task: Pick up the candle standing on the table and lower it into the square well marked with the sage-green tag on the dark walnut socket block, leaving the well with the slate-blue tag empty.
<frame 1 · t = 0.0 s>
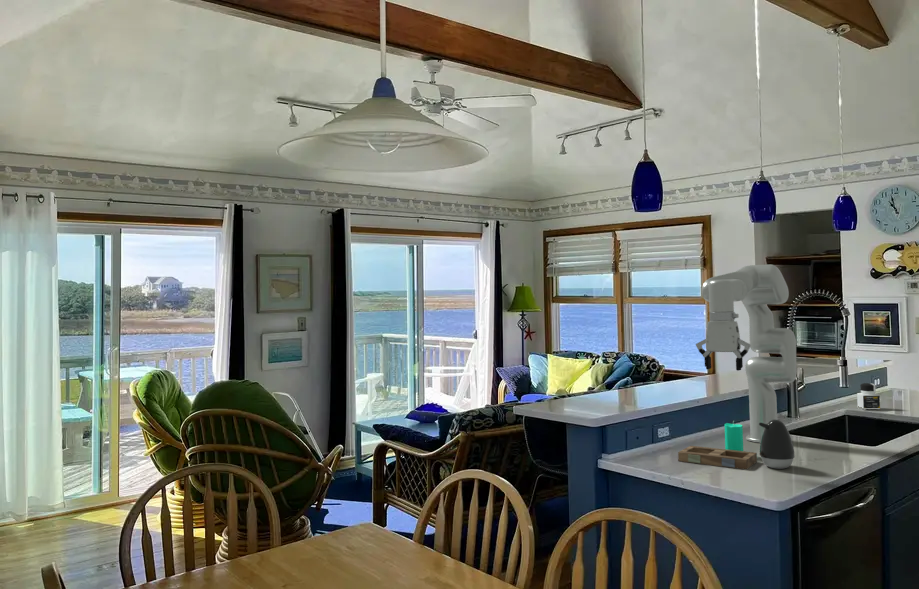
hand: (723, 369, 224), 31 cm above the countertop, tool pointing down, fingers open, 9 cm apart
socket block: (717, 461, 229), on the countertop
pump dispenser: (777, 467, 219), on the countertop
medicine bottle: (868, 409, 319), on the countertop
candle: (734, 455, 237), on the countertop
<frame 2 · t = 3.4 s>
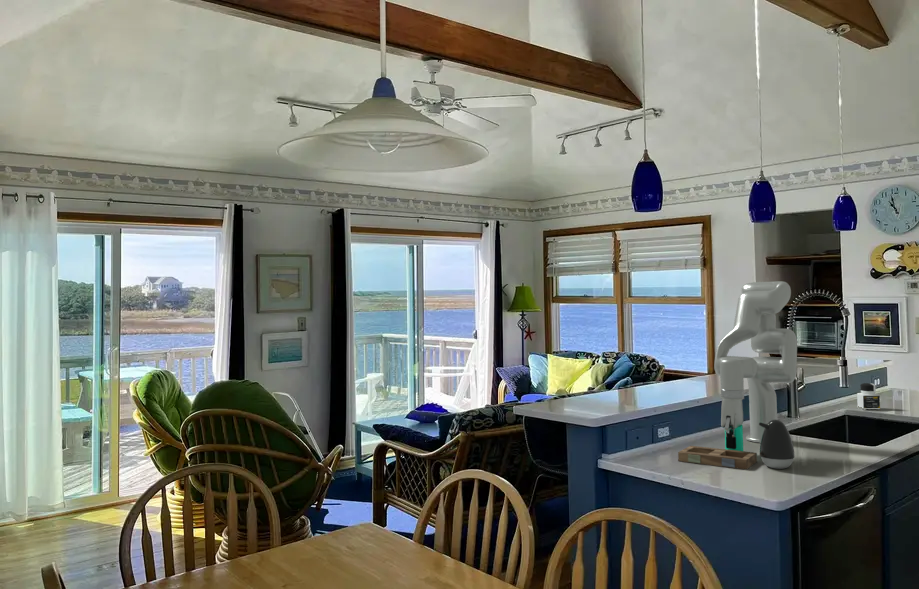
hand: (733, 446, 237), 3 cm above the countertop, tool pointing down, fingers closed on candle, 5 cm apart
candle: (734, 455, 237), on the countertop, touching gripper
everything else where it was.
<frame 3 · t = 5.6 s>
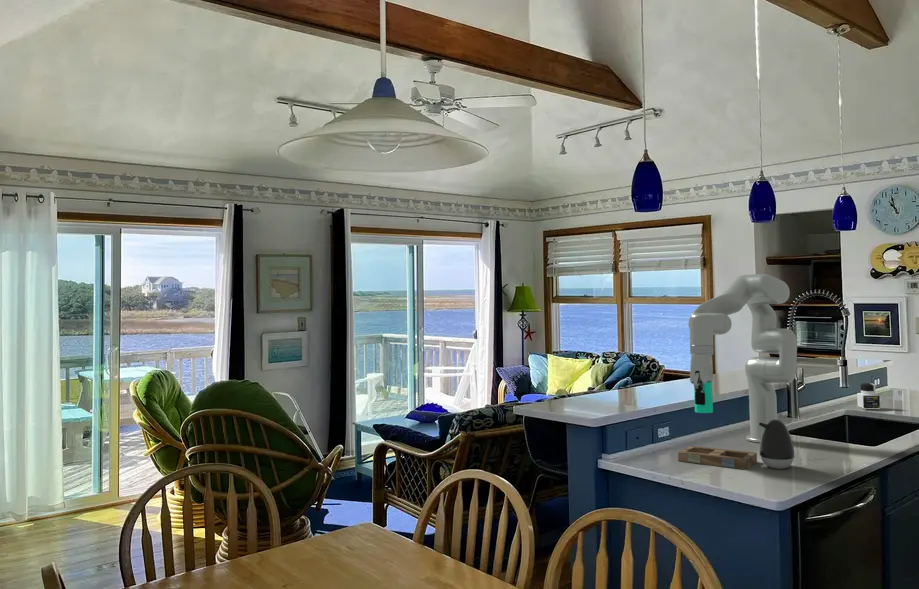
hand: (703, 402, 233), 19 cm above the countertop, tool pointing down, fingers closed on candle, 5 cm apart
candle: (703, 412, 233), point 16 cm above the countertop, touching gripper
everything else where it was.
when the fingers open (4 cm above the countertop, at t = 8.0 s): candle drops 1 cm, resting in socket block.
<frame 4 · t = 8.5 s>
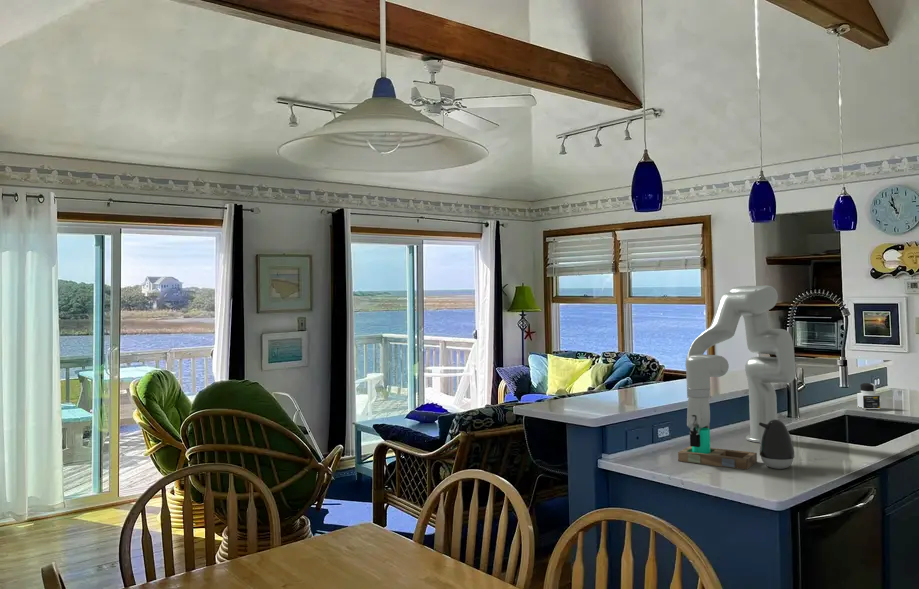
hand: (700, 443, 232), 5 cm above the countertop, tool pointing down, fingers open, 9 cm apart
candle: (701, 459, 232), resting in socket block
everything else where it was.
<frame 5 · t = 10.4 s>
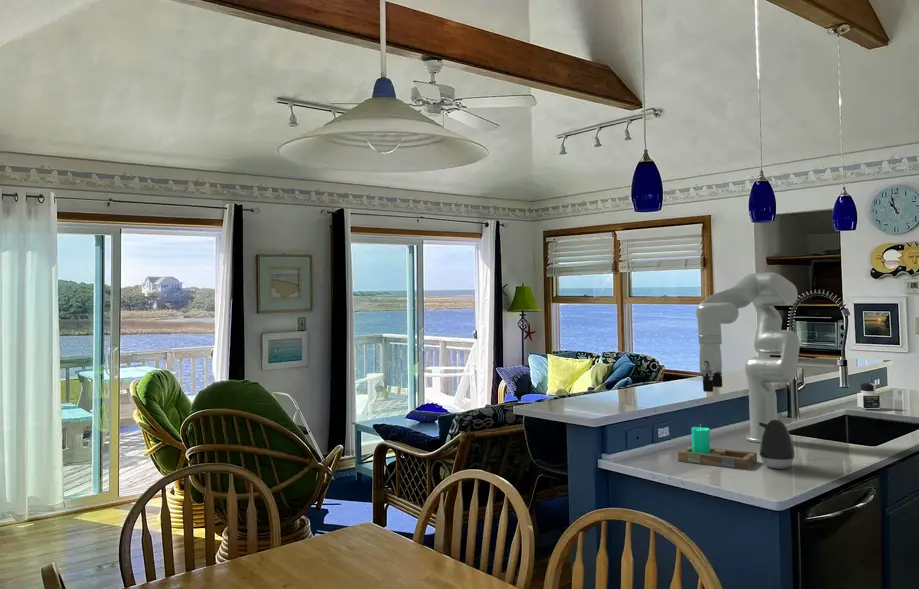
hand: (713, 389, 237), 23 cm above the countertop, tool pointing down, fingers open, 9 cm apart
nothing on the countertop moved.
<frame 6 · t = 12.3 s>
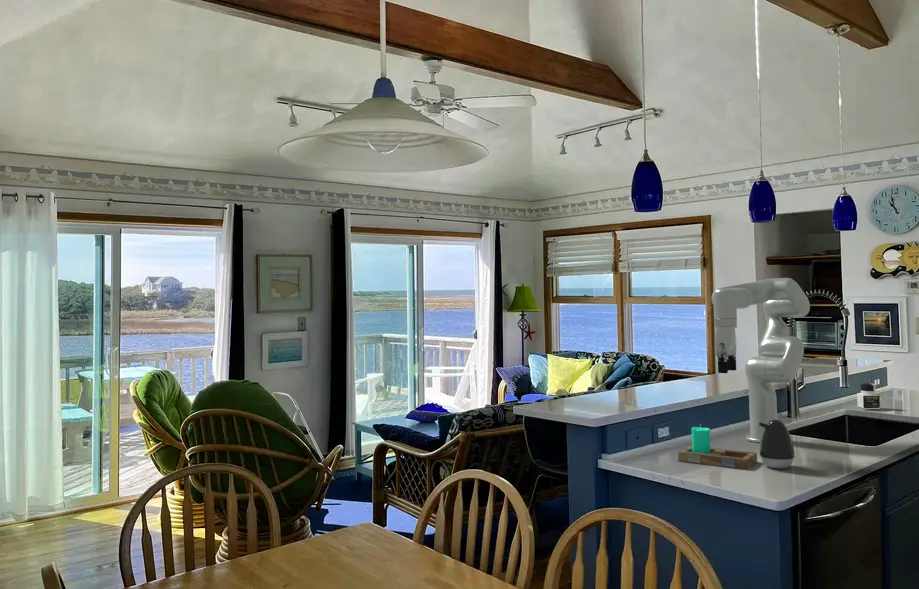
hand: (727, 371, 243), 28 cm above the countertop, tool pointing down, fingers open, 9 cm apart
nothing on the countertop moved.
at the end: candle 0.4 cm from the target spot on the socket block, point 0.0 cm above the socket block's base; candle tilted 0°; the gripper is holding nothing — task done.
